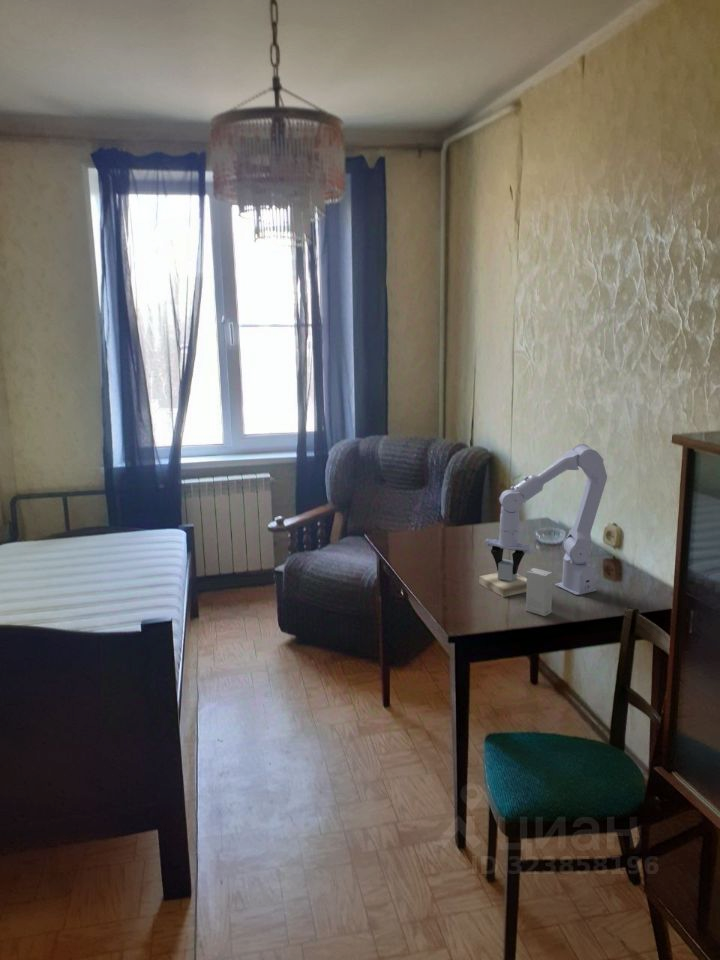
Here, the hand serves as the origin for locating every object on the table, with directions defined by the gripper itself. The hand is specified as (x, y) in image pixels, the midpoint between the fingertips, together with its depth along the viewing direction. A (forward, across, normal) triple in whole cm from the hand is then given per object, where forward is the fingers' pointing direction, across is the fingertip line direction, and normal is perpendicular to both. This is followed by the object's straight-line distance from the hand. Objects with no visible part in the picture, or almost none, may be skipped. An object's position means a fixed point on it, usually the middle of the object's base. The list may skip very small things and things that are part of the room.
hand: (507, 571), depth 214 cm
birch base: (+5, 0, 0) cm, 5 cm away
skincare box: (+5, -14, +13) cm, 20 cm away
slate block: (+2, 0, 0) cm, 2 cm away
